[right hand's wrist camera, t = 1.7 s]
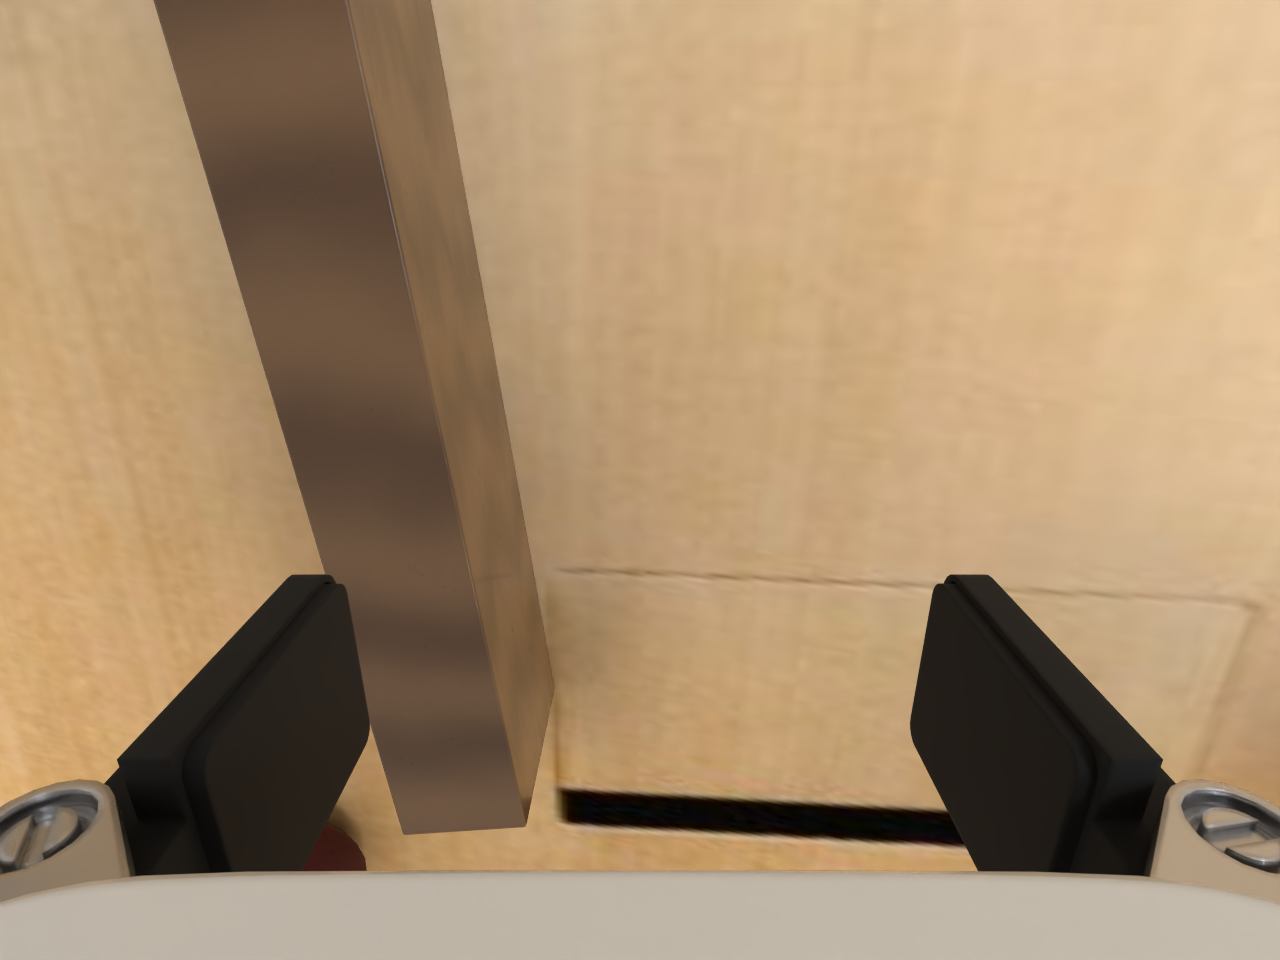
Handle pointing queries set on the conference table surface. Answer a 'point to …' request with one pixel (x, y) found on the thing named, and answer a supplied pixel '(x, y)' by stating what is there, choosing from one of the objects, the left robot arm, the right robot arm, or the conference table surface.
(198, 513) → the conference table surface
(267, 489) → the conference table surface
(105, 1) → the conference table surface
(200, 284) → the conference table surface
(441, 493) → the bar
